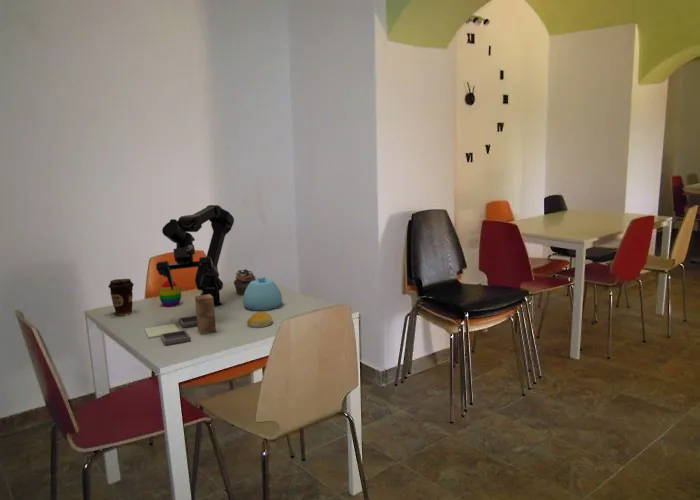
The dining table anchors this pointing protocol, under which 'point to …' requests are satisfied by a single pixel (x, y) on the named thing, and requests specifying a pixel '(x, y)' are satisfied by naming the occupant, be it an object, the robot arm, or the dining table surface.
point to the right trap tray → (188, 321)
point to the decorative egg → (170, 294)
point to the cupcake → (243, 281)
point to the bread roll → (259, 320)
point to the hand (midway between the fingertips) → (185, 287)
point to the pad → (160, 330)
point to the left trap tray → (175, 337)
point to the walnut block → (205, 314)
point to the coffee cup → (121, 296)
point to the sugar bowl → (262, 295)
